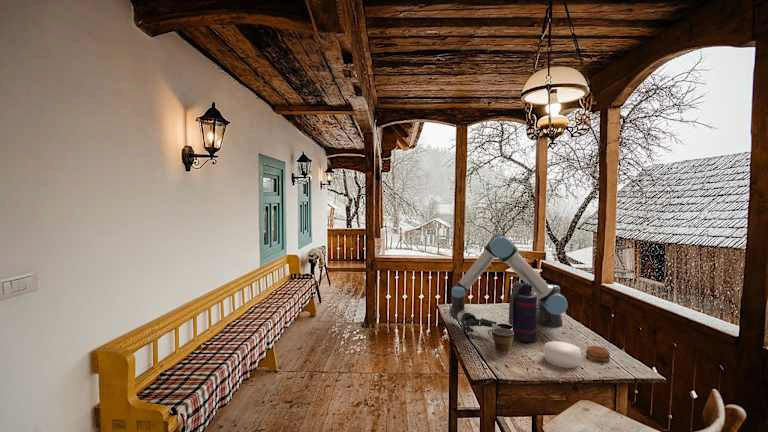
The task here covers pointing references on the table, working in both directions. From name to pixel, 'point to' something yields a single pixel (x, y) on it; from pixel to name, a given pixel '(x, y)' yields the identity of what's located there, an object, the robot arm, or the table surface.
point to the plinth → (562, 354)
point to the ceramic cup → (502, 339)
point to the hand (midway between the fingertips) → (488, 331)
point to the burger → (598, 353)
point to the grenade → (523, 312)
